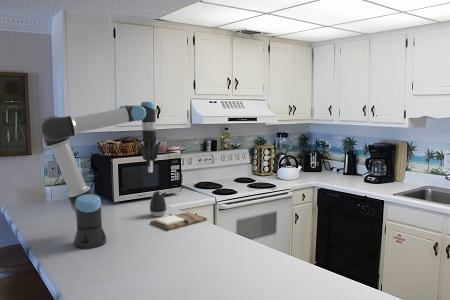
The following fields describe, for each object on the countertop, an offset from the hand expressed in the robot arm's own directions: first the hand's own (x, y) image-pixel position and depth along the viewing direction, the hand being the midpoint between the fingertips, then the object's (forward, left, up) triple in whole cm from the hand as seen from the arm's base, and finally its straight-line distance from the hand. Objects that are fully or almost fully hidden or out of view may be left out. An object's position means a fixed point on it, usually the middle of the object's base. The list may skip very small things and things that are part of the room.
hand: (150, 172), depth 220 cm
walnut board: (+14, -6, -30) cm, 34 cm away
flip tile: (+8, -6, -27) cm, 29 cm away
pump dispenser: (+13, +14, -31) cm, 36 cm away
